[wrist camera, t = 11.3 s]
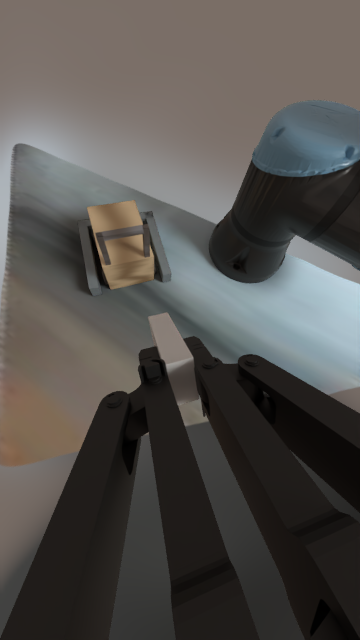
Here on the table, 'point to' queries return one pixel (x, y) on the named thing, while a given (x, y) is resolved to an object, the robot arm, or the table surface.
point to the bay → (89, 256)
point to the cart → (122, 244)
